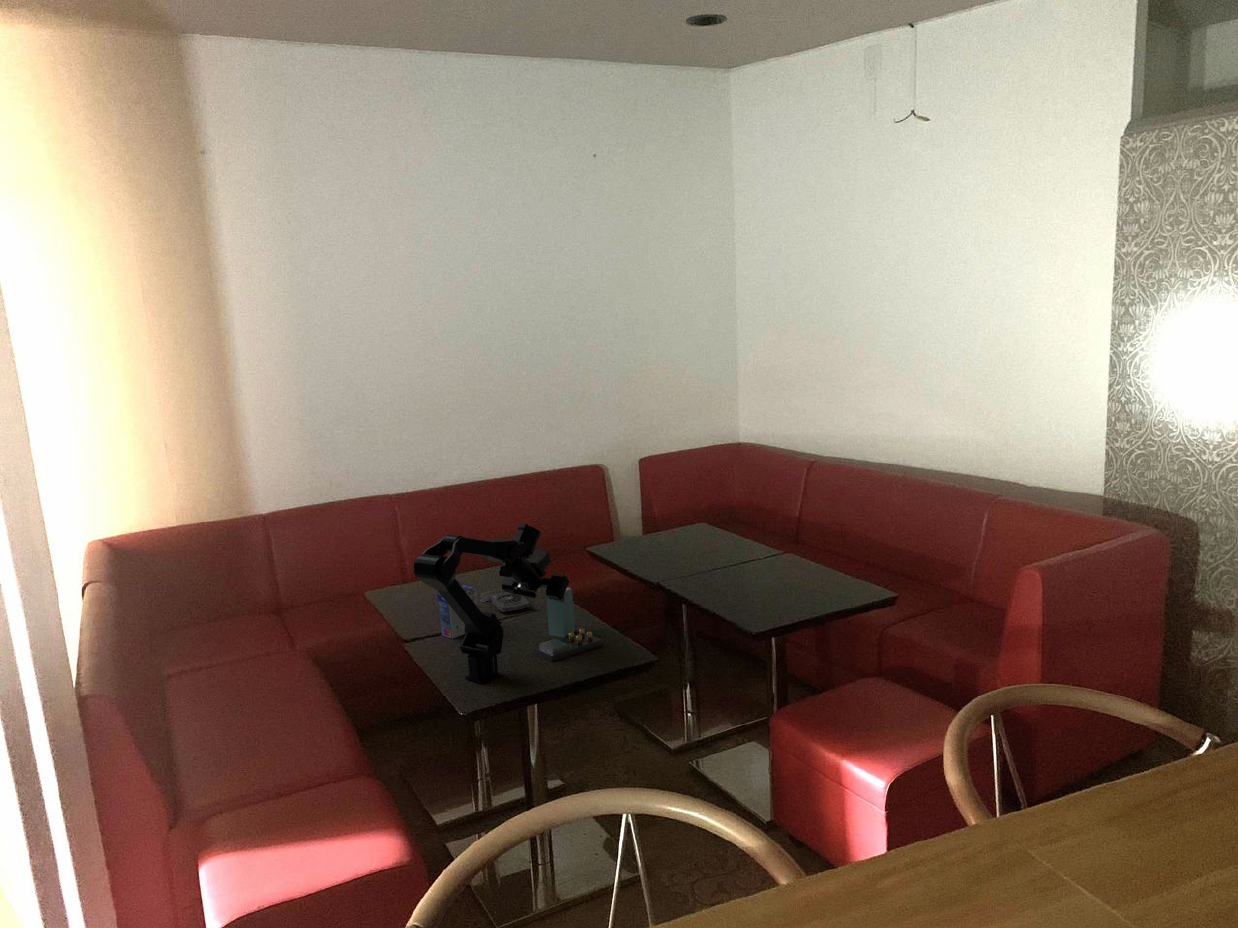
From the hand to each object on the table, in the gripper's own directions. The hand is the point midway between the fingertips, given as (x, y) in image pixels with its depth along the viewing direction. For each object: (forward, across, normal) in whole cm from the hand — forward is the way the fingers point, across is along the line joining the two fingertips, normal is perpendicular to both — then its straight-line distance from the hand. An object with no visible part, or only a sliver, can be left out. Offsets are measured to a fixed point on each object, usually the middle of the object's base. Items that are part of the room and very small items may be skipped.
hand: (549, 598), depth 253 cm
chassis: (+4, -9, +11) cm, 15 cm away
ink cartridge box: (+4, +27, +12) cm, 30 cm away
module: (+11, 0, +5) cm, 12 cm away
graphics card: (+21, +30, -4) cm, 36 cm away
